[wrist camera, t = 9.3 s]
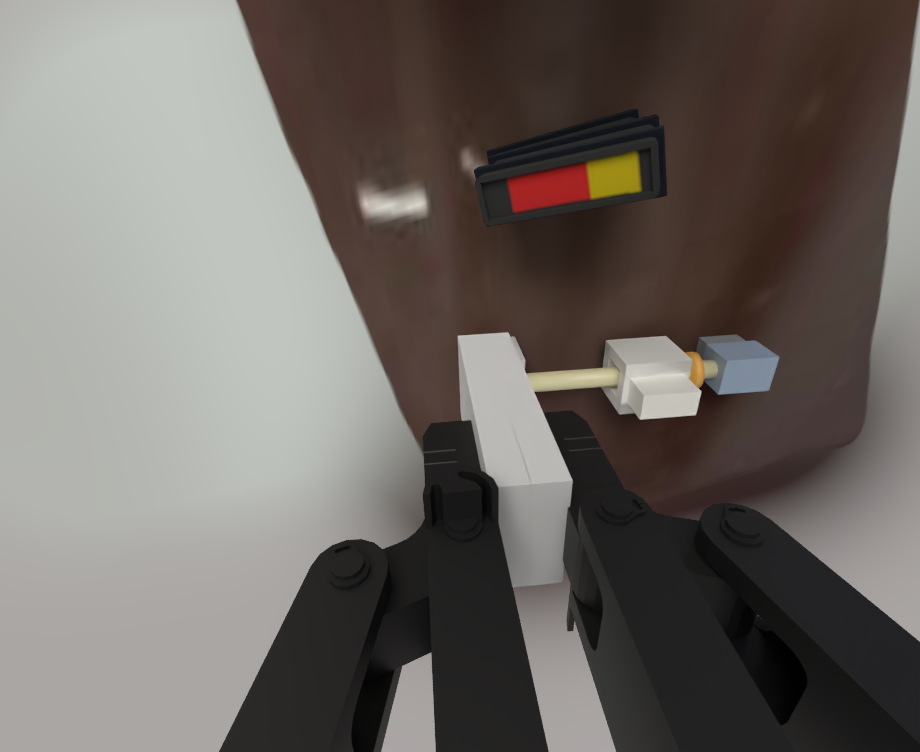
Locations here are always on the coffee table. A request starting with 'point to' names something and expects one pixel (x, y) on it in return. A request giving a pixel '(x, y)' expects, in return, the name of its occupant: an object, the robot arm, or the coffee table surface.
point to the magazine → (574, 169)
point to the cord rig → (714, 362)
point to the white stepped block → (651, 378)
